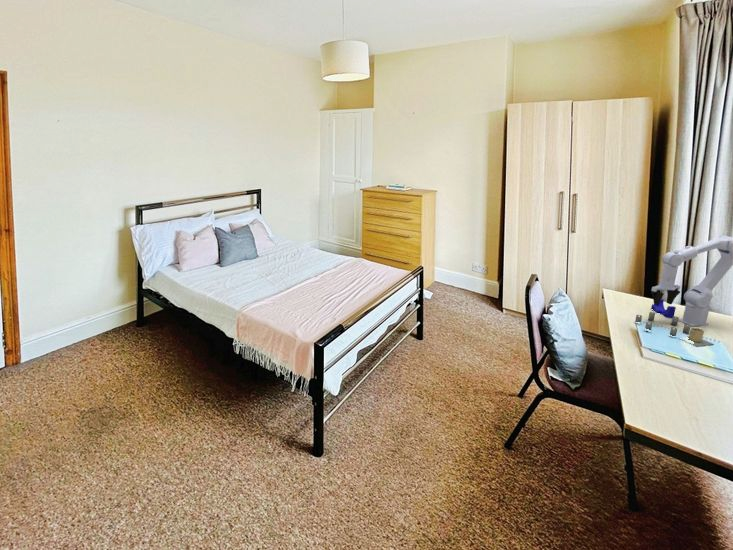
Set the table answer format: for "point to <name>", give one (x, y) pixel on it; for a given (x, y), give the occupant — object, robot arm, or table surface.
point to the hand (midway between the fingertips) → (662, 304)
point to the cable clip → (660, 309)
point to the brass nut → (696, 335)
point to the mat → (702, 343)
